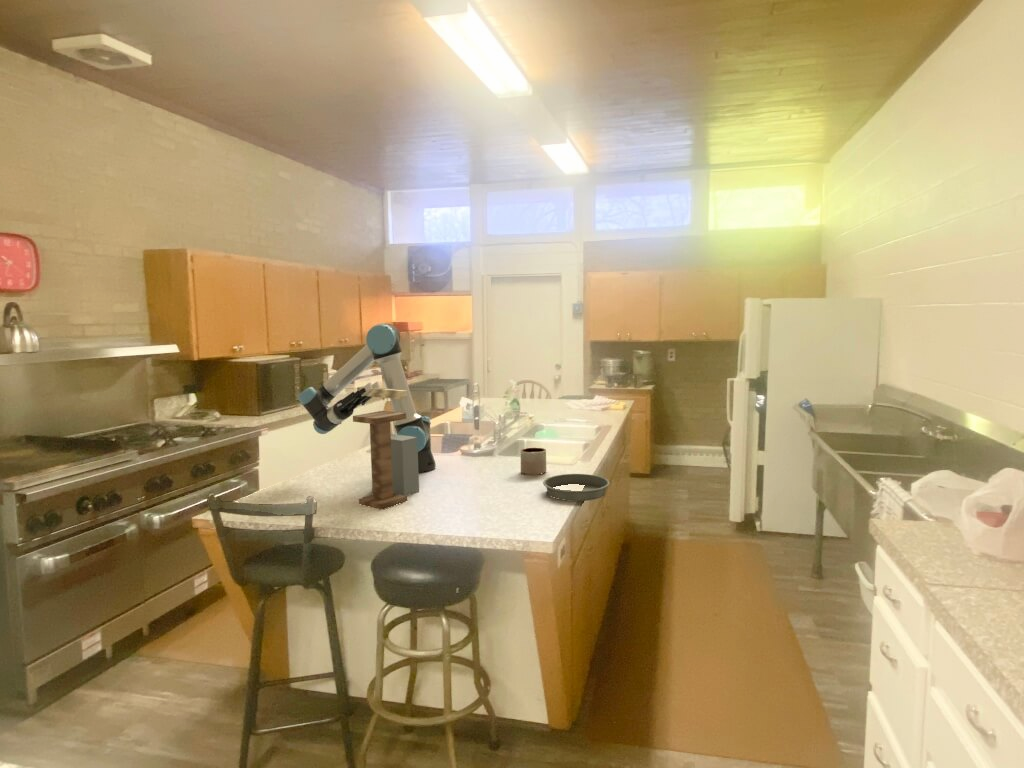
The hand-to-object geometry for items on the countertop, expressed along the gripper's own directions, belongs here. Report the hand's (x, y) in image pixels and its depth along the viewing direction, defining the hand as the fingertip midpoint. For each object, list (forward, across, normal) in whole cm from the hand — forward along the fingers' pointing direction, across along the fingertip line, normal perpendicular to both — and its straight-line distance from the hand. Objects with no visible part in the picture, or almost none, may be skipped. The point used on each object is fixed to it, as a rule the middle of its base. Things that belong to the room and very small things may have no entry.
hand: (374, 385), depth 253 cm
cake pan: (+40, -34, -69) cm, 87 cm away
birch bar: (+1, 0, -6) cm, 6 cm away
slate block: (-12, 0, -39) cm, 41 cm away
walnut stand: (-5, +14, -43) cm, 46 cm away
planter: (+13, -53, -54) cm, 76 cm away
